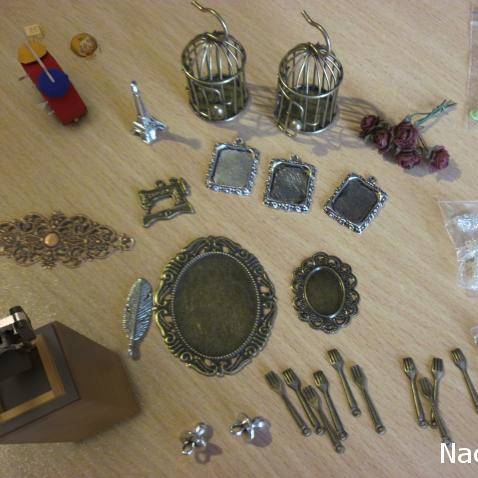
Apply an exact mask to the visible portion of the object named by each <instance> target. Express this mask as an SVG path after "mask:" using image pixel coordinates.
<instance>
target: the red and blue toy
mask: <svg viewBox="0 0 478 478" xmlns="http://www.w3.org/2000/svg"><path fill="white" fill-rule="evenodd" d="M17 62H19V64H20V66H21V68H22V69H23V70H24V72H25V75H24V76H21V77H20V78H18V79H17V81H18V82H21V81H24V80H25V79H26V78H29V79H30V81H31V83H33V85H32V84H30V85H29V90H30V89H31V90H34V88H36V89H37V91H38V92H39V94H40V95H41V96H42V98H43V99H44V101H45V102H39V103H37V105H36V108H38V109H37V110H43V109H44V108H45V107H46V106H47V105H48V106H49V108H50V109H51V110H52V111H48V113H47V115H48V116H53V114H54V115H55V116H56V118H57V119H58V120H59V121H60V123H61V124H62V126H66V125H67V124H69V123H71V122H73V121H74V122H78V121H79V118H81V117H82V116H84V115H85V114H87V113H89V111H88V107H87V106H86V103H85V102H84V100H83V98H82V97H81V95H80V94H79V92H78V91H77V89H76V87H75V86H74V84H73V82H72V81H71V80H70V77H69V75H68V74H67V73H66V72H65V71H64V70H63V68H62V67H61V65H60V64H59V63H58V61H57V60H56V59H55V58H54V56H53V55H52V54H51V52H50V51H48V49H47V46H46V45H44V44H42V43H40V42H39V41H36V42H34V41H32V42H30V41H28V42H27V40H25V39H24V40H23V44H22V45H21V46H20V47H18V49H17Z"/></svg>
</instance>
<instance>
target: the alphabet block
mask: <svg viewBox="0 0 478 478" xmlns="http://www.w3.org/2000/svg"><path fill="white" fill-rule="evenodd" d="M23 30H24V32H25V35H26V37H27V39H28V42H32V41H34V42H39V41H42V40H45V37H44V36H43V33H42V31H41V28H40V26H39V24H38V23H34V24H31V25H27V26H23Z"/></svg>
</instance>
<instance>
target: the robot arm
mask: <svg viewBox="0 0 478 478" xmlns="http://www.w3.org/2000/svg"><path fill="white" fill-rule="evenodd" d="M8 311H9V312H8V313H7V314H6V316H4V317H2V318H0V354H2V353H3V352H5V351H6V350H13V351H15V352H19V353H22V354H27V353H29V352H31V350H30V348H32V347H33V345H32V343H31V341H33V340H35V339H36V338H37V337H36V334H35V333H34V330H35V329H34V327H33V324H32V321H31V318H30V317H29V315H28V314H27V313H26V311H25V310H24V308H23V307H22V306H21V305H14V306H12V307H11V308H9V309H8ZM6 335H7V337H6ZM7 338H8V340H7Z"/></svg>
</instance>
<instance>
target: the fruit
mask: <svg viewBox="0 0 478 478" xmlns="http://www.w3.org/2000/svg"><path fill="white" fill-rule="evenodd" d="M70 49H71V50H72V51H71V52H73V53H74V55H77V56H78V57H80V58H85V59H86V60H85V61H84V66H85V67H87V65H88V64H89V63H91V62H92V61H94V60H96V59H98V58H100V56H98V55H97V54H96V53H94V52H96V50H97V49H98V52H97V53H98V54H101V53H103V51H102V48H101V44H99V43H98V42H97V40H96V38H95V37H93V36H92V35H91V34H89V33H85V32H82V33H77V34H76V35H74V36H73V37H72V38H71V40H70ZM88 66H89V67H91V66H92V67H93V64H89V65H88Z"/></svg>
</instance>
